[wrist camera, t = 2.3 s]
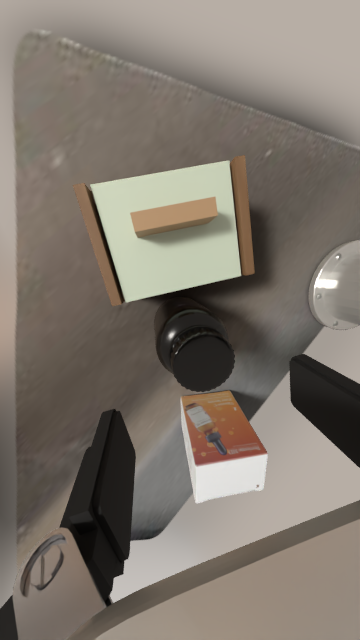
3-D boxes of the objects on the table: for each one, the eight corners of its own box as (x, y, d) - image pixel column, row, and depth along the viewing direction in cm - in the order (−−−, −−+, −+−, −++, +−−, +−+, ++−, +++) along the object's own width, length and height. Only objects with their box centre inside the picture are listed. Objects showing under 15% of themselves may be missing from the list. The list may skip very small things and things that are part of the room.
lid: (225, 165, 15) (243, 139, 12) (237, 275, 18) (255, 276, 15) (93, 189, 14) (77, 167, 11) (126, 300, 17) (121, 308, 14)
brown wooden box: (213, 192, 21) (244, 155, 14) (224, 272, 24) (254, 273, 17) (100, 214, 20) (72, 184, 13) (124, 294, 23) (112, 306, 16)
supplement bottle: (196, 348, 26) (231, 409, 15) (149, 339, 25) (146, 400, 13) (210, 301, 25) (261, 330, 13) (160, 289, 23) (168, 310, 12)
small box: (229, 389, 29) (271, 453, 19) (228, 418, 30) (265, 491, 20) (179, 395, 28) (195, 466, 18) (180, 425, 29) (195, 505, 19)
